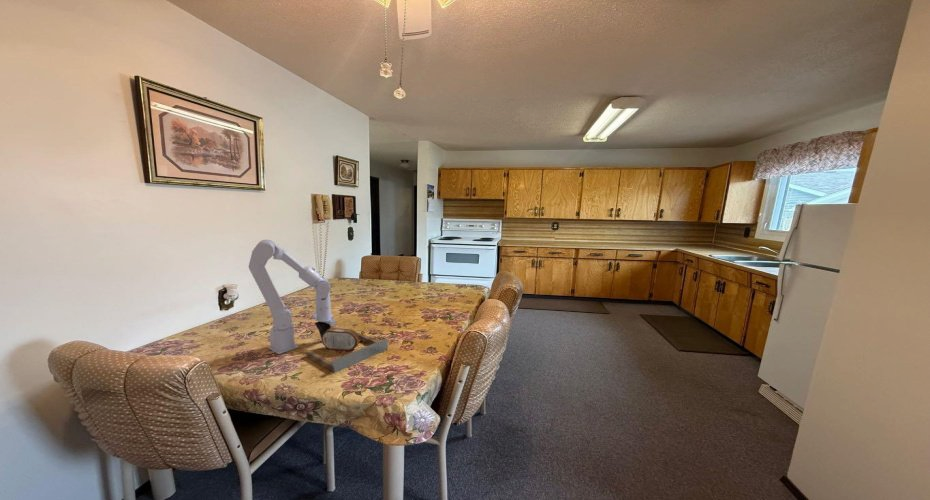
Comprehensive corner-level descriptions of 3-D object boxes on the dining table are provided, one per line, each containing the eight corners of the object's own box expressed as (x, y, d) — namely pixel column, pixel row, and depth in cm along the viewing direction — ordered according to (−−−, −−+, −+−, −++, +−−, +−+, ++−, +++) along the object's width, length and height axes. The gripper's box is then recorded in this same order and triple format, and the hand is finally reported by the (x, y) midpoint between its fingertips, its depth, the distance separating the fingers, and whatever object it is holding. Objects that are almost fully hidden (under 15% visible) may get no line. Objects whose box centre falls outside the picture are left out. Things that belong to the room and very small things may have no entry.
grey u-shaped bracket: (306, 356, 115) (306, 346, 114) (359, 337, 133) (359, 328, 133) (334, 372, 104) (334, 361, 103) (387, 349, 122) (387, 339, 122)
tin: (360, 348, 123) (359, 328, 122) (356, 352, 119) (356, 331, 118) (325, 346, 124) (324, 326, 123) (320, 349, 121) (319, 329, 120)
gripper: (341, 308, 126) (342, 339, 128) (323, 301, 134) (324, 331, 136) (325, 312, 120) (326, 345, 122) (307, 305, 129) (308, 336, 130)
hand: (324, 338), depth 129 cm, fingers closed
